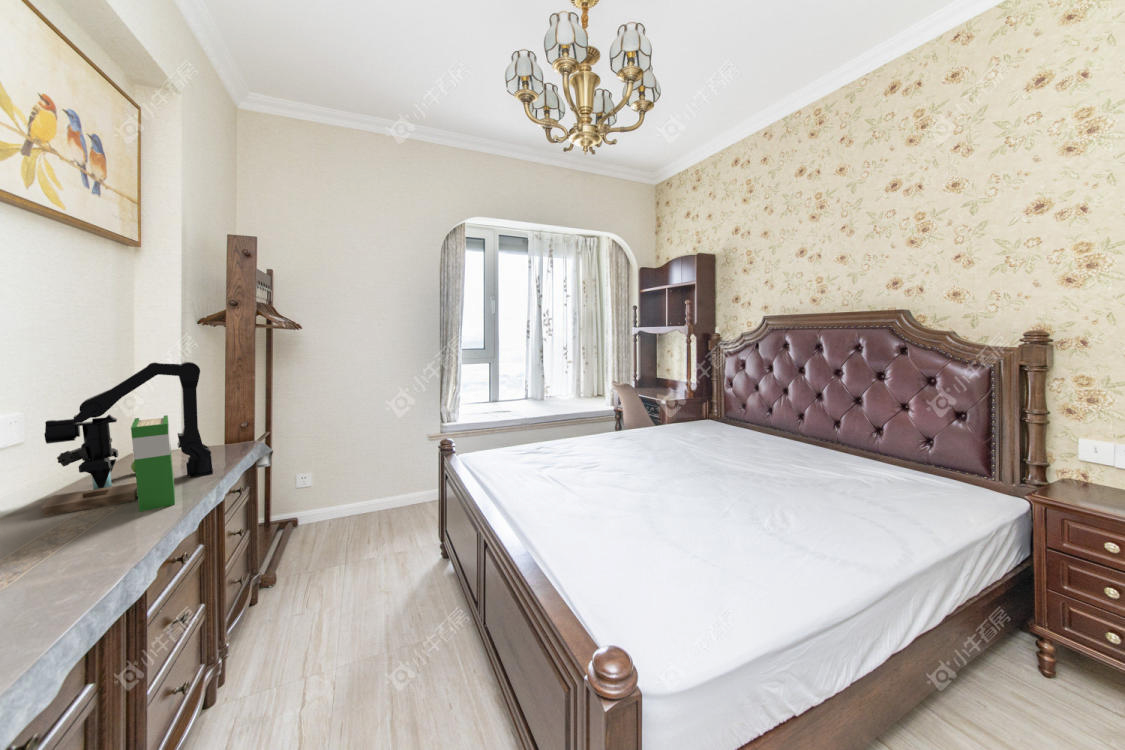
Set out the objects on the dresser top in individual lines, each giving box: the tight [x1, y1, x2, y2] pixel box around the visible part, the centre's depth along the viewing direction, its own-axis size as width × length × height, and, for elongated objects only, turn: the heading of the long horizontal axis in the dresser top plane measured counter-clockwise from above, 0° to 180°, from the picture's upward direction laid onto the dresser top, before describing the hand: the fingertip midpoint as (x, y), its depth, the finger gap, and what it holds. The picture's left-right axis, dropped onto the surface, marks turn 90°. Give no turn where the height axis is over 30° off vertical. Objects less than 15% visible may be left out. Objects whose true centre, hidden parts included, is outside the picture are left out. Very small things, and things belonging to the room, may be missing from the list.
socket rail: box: [41, 482, 138, 517], centre depth 128 cm, size 18×11×2 cm, turn 129°
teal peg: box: [91, 473, 113, 490], centre depth 137 cm, size 4×4×6 cm
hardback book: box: [130, 414, 176, 513], centre depth 129 cm, size 18×7×24 cm, turn 42°
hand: (102, 486), depth 137 cm, fingers closed on teal peg, 4 cm apart
